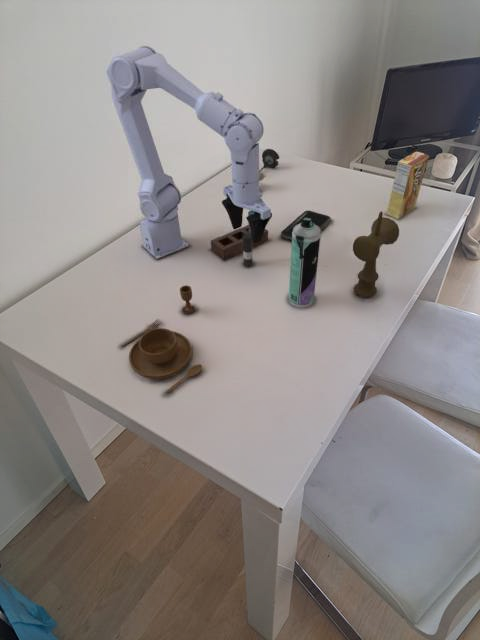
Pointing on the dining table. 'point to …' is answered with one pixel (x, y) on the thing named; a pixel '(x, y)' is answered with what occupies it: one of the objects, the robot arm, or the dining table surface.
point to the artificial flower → (268, 162)
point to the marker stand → (233, 243)
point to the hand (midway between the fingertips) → (246, 234)
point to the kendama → (373, 253)
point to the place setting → (163, 349)
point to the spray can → (304, 263)
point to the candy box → (407, 184)
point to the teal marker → (249, 215)
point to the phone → (316, 219)
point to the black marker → (247, 250)
